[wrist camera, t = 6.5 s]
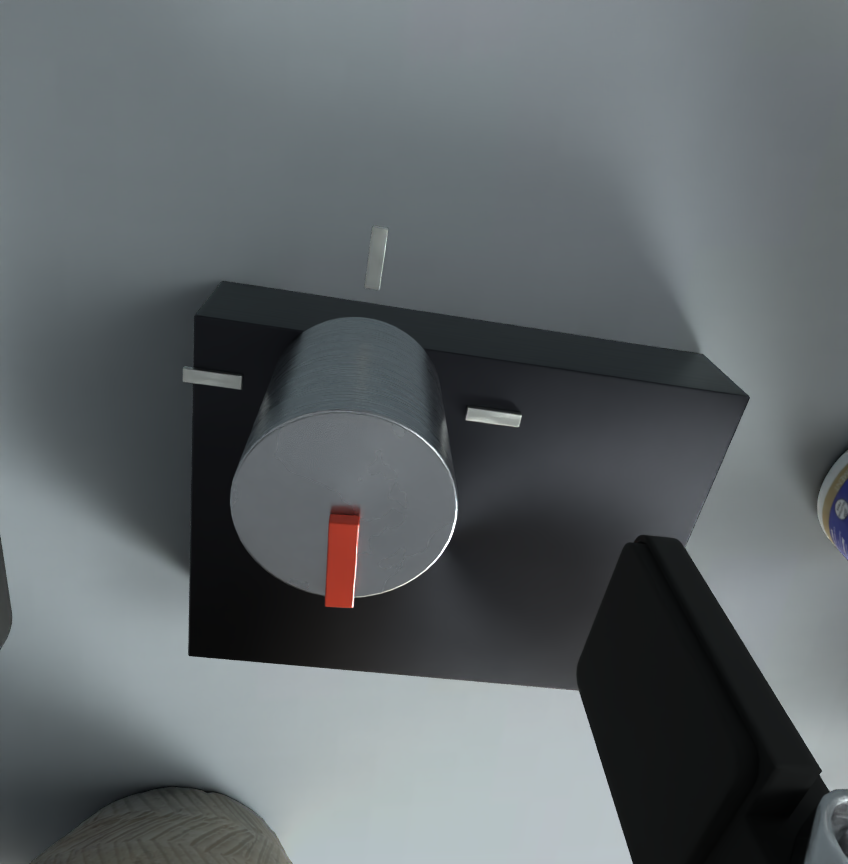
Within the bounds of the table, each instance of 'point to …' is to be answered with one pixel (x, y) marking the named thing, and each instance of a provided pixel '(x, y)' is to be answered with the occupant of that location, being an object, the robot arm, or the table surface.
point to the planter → (169, 832)
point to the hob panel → (461, 489)
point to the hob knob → (348, 464)
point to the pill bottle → (835, 504)
